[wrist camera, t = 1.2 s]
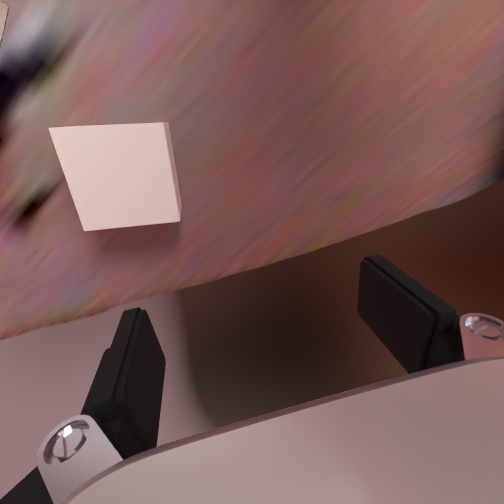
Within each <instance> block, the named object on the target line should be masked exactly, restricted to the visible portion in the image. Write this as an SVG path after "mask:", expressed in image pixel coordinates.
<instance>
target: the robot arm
mask: <svg viewBox="0 0 504 504" xmlns="http://www.w3.org/2000/svg"><path fill="white" fill-rule="evenodd" d="M456 311H457V310H456V309H454V308H453V307H451V306H450V305H449V304H447V303H446V302H444V301H443V300H442V299H440V298H439V297H437V296H436V295H435V294H433V293H432V292H430V291H429V290H428V289H426V288H425V287H424V286H422V285H421V284H420V283H418V282H417V281H415V280H414V279H413V278H411V277H410V276H408V275H407V274H405V273H404V272H403V271H402V270H400V269H399V268H397V267H396V266H395V265H393V264H392V263H390V262H389V261H388V260H386V259H385V258H383V257H382V256H381V255H373V256H368V257H365V258H364V260H363V261H362V262H361V265H360V279H359V293H358V313H359V315H360V317H361V318H362V319H363V320H364V322H365V323H366V324H367V325H368V326H369V327H370V328H371V330H372V331H373V332H374V333H375V334H376V335H377V337H378V338H379V339H380V340H381V341H382V342H383V344H384V345H385V346H386V347H387V349H388V350H389V351H390V352H391V353H392V354H393V355H394V357H395V358H396V359H397V360H398V361H399V363H400V364H401V365H402V366H403V367H404V368H405V370H406V371H407V372H408V373H409V374H408V375H404V376H400V377H397V378H393V379H390V380H386V381H383V382H379V383H375V384H371V385H368V386H364V387H361V388H357V389H353V390H350V391H346V392H343V393H339V394H336V395H332V396H328V397H325V398H322V399H318V400H314V401H311V402H307V403H304V404H300V405H297V406H293V407H289V408H286V409H282V410H279V411H275V412H272V413H269V414H265V415H262V416H258V417H255V418H251V419H248V420H244V421H241V422H237V423H234V424H231V425H227V426H223V427H220V428H216V429H213V430H210V431H206V432H203V433H200V434H197V435H193V436H190V437H187V438H184V439H180V440H177V441H174V442H170V443H167V444H164V445H161V446H158V447H156V446H157V438H158V428H159V420H160V410H161V402H162V393H163V384H164V383H163V382H164V375H165V364H166V362H165V356H164V354H163V351H162V349H161V346H160V344H159V342H158V339H157V336H156V334H155V331H154V329H153V326H152V324H151V321H150V319H149V316H148V314H147V312H146V310H141V309H140V308H139V307H138V308H134V309H130V310H125V311H124V312H123V314H122V317H121V319H120V322H119V325H118V328H117V331H116V333H115V336H114V339H113V342H112V344H111V347H110V348H108V349H106V350H105V352H104V354H103V356H102V359H101V362H100V365H99V367H98V370H97V372H96V375H95V378H94V380H93V383H92V385H91V388H90V391H89V393H88V396H87V399H86V401H85V404H84V406H83V409H82V412H81V414H80V415H79V416H74V417H72V418H70V419H67V420H66V421H64V422H63V423H61V424H60V425H58V426H57V427H56V428H55V429H54V430H53V431H52V432H51V433H50V434H49V435H48V436H47V437H46V439H45V440H44V441H43V443H42V445H41V447H40V448H39V450H38V454H37V458H36V461H37V467H36V468H35V469H34V470H32V471H31V472H30V473H29V474H28V475H27V476H26V477H25V478H24V479H23V480H22V481H20V482H19V483H18V484H17V485H16V486H15V487H14V488H13V489H12V490H11V491H9V492H8V493H7V494H6V495H5V496H4V497H3V498H2V499H1V500H0V504H504V322H502V321H501V320H499V319H497V318H495V317H492V316H489V315H485V314H479V313H469V314H465V315H463V316H462V317H461V318H460V317H459V316H458V315H456Z"/></svg>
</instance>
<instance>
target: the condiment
mask: <svg viewBox="0 0 504 504" xmlns="http://www.w3.org/2000/svg"><path fill="white" fill-rule="evenodd" d="M7 12H8V6H7V5H6V4H4V3H2V2H1V1H0V43H1V38H2V34H3V30H4V26H5V21H6V17H7Z"/></svg>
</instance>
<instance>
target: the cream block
mask: <svg viewBox="0 0 504 504" xmlns="http://www.w3.org/2000/svg"><path fill="white" fill-rule="evenodd" d="M48 129H49V131H50V134H51V137H52V140H53V143H54V146H55V149H56V152H57V154H58V157H59V160H60V163H61V166H62V169H63V172H64V175H65V177H66V180H67V183H68V186H69V189H70V192H71V195H72V198H73V200H74V203H75V206H76V209H77V212H78V215H79V218H80V221H81V224H82V226H83V229H84V231H91V230H101V229H111V228H120V227H130V226H140V225H150V224H160V223H170V222H180V218H181V210H182V204H181V198H180V192H179V185H178V179H177V173H176V167H175V161H174V155H173V148H172V142H171V136H170V130H169V124H168V122H161V123H139V124H116V125H93V126H71V127H55V128H48Z"/></svg>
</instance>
